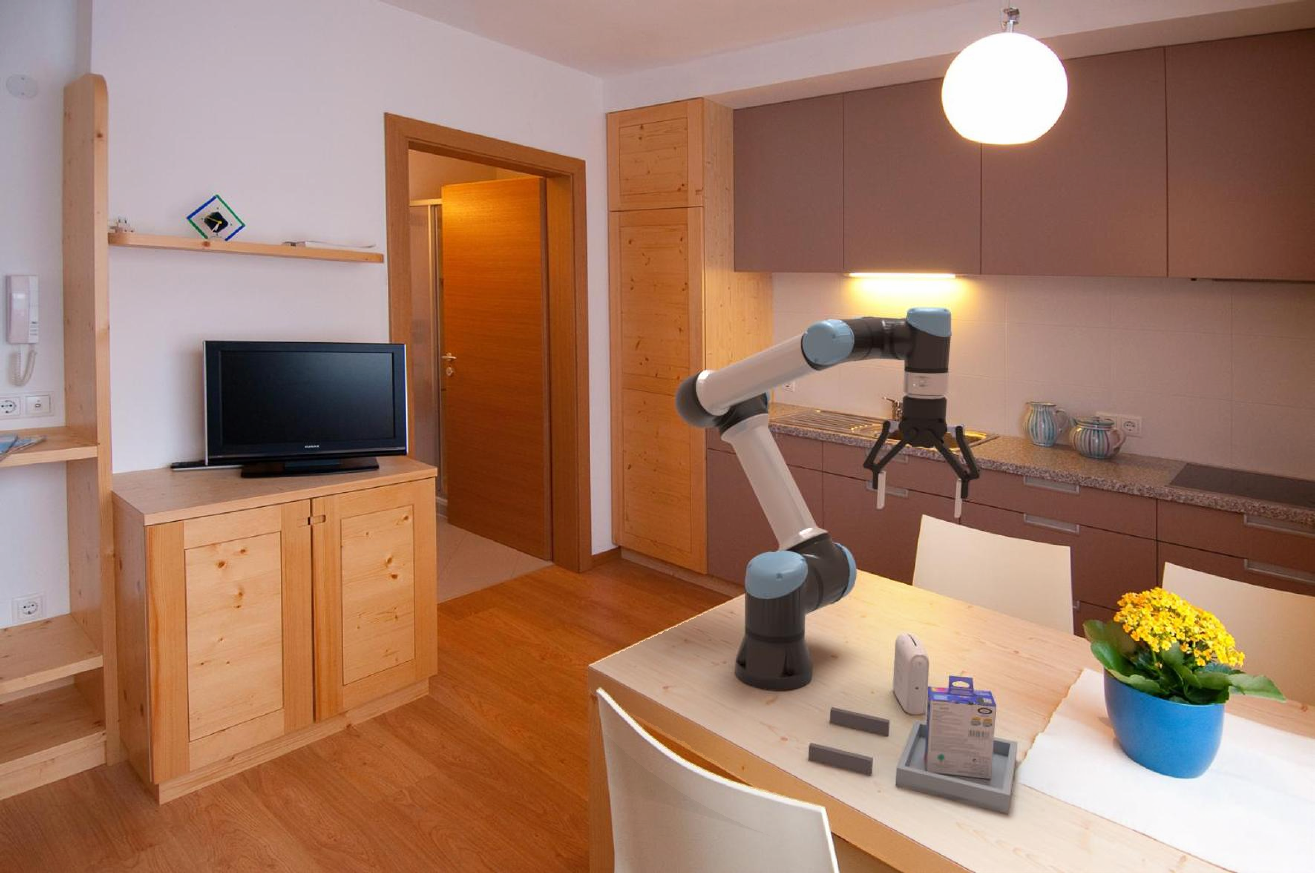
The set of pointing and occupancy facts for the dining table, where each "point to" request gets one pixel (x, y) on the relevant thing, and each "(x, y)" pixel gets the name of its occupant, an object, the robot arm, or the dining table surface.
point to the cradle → (843, 757)
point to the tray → (954, 786)
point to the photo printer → (911, 673)
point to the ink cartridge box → (960, 730)
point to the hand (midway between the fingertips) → (918, 511)
